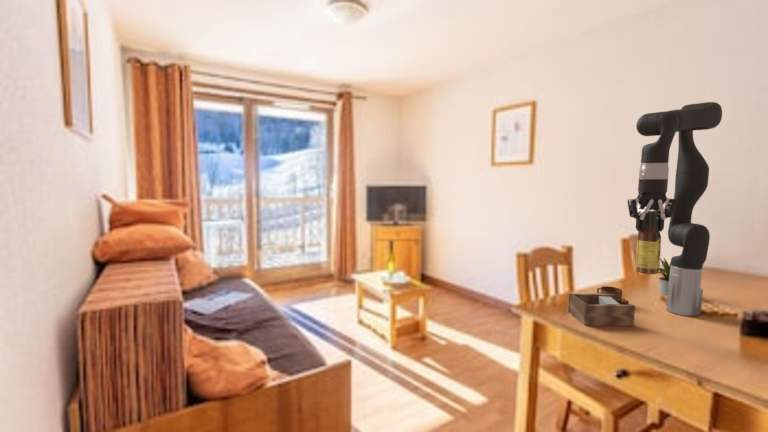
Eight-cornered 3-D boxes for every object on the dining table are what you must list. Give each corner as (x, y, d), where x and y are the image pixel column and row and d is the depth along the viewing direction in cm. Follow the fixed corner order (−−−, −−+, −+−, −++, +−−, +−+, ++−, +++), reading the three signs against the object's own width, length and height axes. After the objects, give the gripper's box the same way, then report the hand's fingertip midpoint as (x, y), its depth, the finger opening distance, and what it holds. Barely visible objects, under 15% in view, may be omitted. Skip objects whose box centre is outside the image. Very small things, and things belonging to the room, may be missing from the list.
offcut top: (610, 306, 139) (610, 296, 138) (619, 314, 131) (619, 304, 130) (598, 305, 139) (598, 296, 139) (606, 313, 132) (607, 303, 131)
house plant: (650, 285, 174) (653, 250, 172) (688, 292, 164) (692, 255, 162) (643, 293, 163) (646, 255, 161) (684, 300, 154) (688, 261, 152)
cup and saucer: (587, 303, 151) (588, 288, 150) (599, 297, 159) (600, 282, 158) (622, 312, 142) (623, 296, 141) (632, 305, 150) (634, 289, 149)
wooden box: (612, 312, 142) (613, 293, 141) (633, 325, 129) (635, 305, 128) (568, 311, 142) (569, 293, 141) (585, 325, 130) (586, 305, 129)
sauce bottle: (662, 275, 120) (667, 212, 117) (640, 274, 121) (644, 212, 119) (653, 270, 126) (657, 210, 124) (631, 269, 127) (635, 209, 125)
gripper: (668, 177, 123) (664, 229, 125) (622, 177, 124) (619, 229, 126) (685, 177, 116) (681, 233, 118) (637, 178, 116) (633, 233, 118)
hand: (649, 230), depth 122 cm, fingers closed on sauce bottle, 5 cm apart
